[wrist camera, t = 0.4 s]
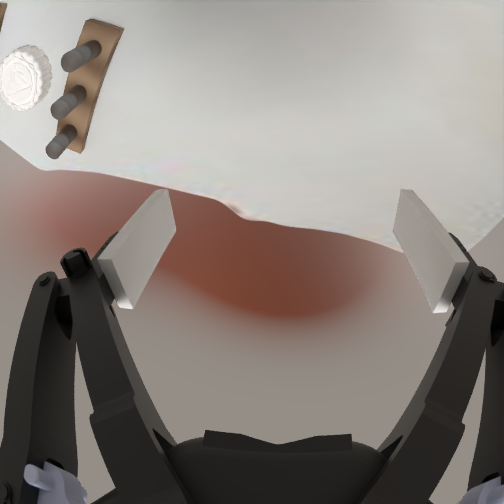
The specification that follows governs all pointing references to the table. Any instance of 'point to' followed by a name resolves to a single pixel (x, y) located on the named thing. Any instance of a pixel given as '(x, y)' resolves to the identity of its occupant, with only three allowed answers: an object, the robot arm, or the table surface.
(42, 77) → the mooncake
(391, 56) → the table surface
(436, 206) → the table surface
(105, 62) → the rails
